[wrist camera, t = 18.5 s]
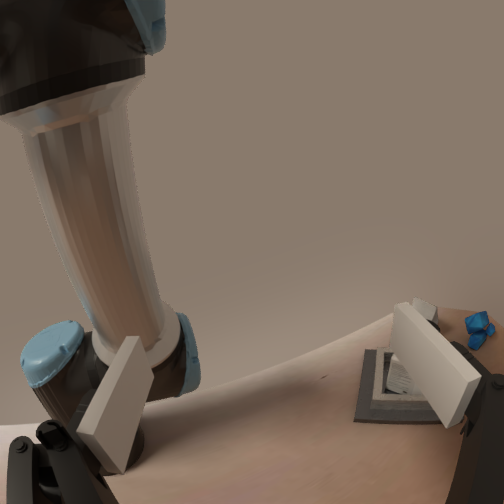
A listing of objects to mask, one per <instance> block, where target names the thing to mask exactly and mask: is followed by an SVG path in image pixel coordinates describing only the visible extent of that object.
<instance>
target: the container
mask: <svg viewBox="0 0 504 504" xmlns="http://www.w3.org/2000/svg"><path fill="white" fill-rule="evenodd" d="M426 320H427V321H428V322H429V323H430V324H431V325H432V326H433V327H434V328H435V329H436V330H437V331H438V332H439V333H440V328H439V327H438V325H437V324H436V323H435V322H433V321H431V320H428V319H426ZM385 388H386V389H388V390H391V391H394V392H397V393H400V394H409V395H423V393H422V392H421V391H420V389H419V388H418V386H417V385H416V383H415V382H414V381H413V379H412V378H411V376H410V375H409V374H408V372H407V371H406V369H405V368H404V367H403V365H402V364H401V362H400V361H399V360H398V358H397V357H396V355H395V354H393V356H392V358H391V362H390V367H389V372H388V377H387V382H386V386H385Z"/></svg>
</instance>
